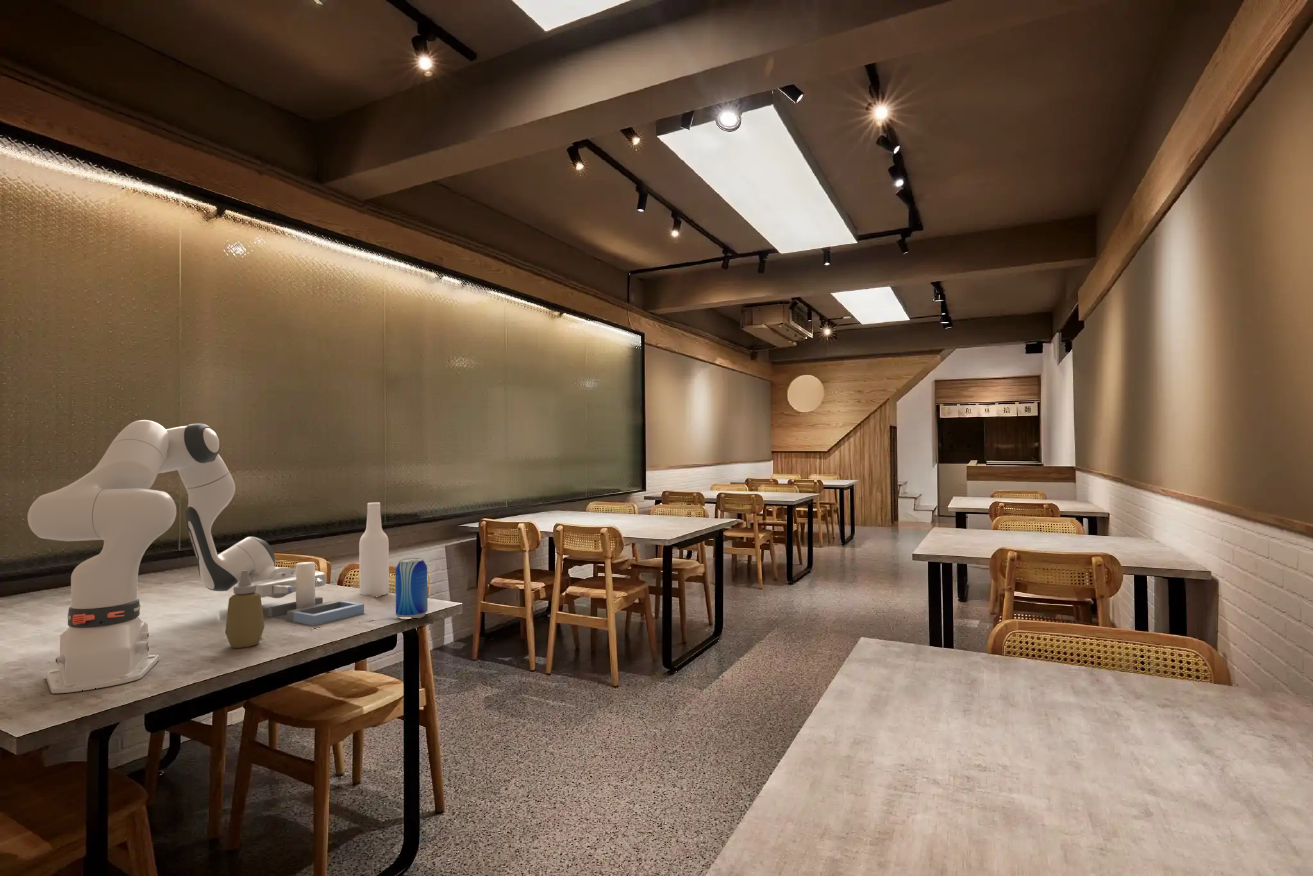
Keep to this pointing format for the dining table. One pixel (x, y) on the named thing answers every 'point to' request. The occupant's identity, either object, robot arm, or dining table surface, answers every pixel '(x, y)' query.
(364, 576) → the alcohol
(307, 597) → the plug post
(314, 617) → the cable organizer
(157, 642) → the dining table surface
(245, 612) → the squeeze bottle
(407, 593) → the beer can
